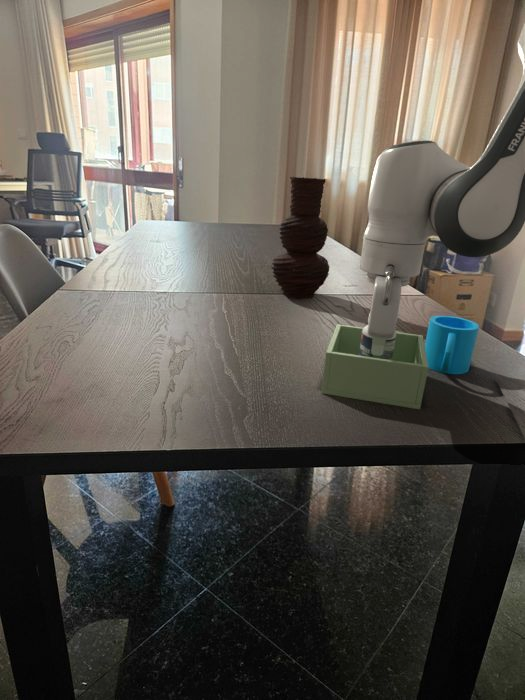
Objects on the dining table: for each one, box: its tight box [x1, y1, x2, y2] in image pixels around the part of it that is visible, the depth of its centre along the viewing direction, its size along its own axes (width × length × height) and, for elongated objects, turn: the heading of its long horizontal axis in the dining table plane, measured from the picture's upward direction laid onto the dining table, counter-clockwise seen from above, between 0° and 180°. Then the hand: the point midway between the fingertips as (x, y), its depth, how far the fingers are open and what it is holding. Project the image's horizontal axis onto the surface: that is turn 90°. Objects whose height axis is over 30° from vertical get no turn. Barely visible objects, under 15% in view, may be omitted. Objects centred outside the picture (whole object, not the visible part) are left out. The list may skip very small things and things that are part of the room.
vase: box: [270, 176, 330, 300], centre depth 122 cm, size 15×15×30 cm
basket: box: [321, 323, 429, 410], centre depth 76 cm, size 15×15×7 cm
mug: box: [424, 315, 480, 375], centre depth 83 cm, size 12×8×8 cm
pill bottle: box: [359, 312, 397, 360], centre depth 74 cm, size 5×5×9 cm
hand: (377, 346), depth 75 cm, fingers closed on pill bottle, 5 cm apart
